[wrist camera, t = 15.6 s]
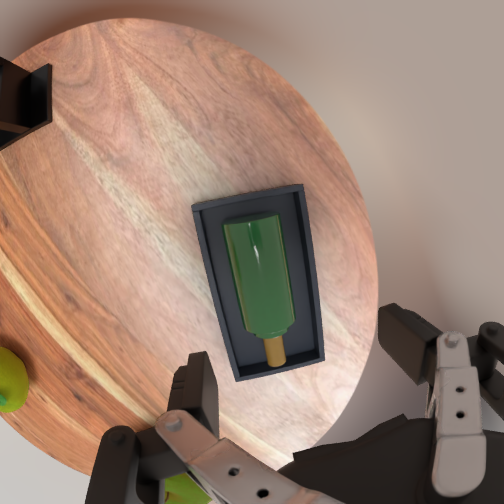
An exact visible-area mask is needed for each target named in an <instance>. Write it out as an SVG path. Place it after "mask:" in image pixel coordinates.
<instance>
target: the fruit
mask: <svg viewBox="0 0 504 504" xmlns="http://www.w3.org/2000/svg"><path fill="white" fill-rule="evenodd" d="M28 390H29V380H28V376H27V372H26V369H25V365H24V363H23V362H22V360H21V359H20V358H18V357H17V356H16V355H15V354H14V353H13V352H12V351H10V350H9V349H7V348H4V347H0V411H1V412H5V413H9V412H13V411H16V410H17V409H19V408H20V407H22V406H23V404H24V403H25V401H26V399H27V395H28Z"/></svg>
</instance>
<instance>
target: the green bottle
mask: <svg viewBox="0 0 504 504" xmlns="http://www.w3.org/2000/svg"><path fill="white" fill-rule="evenodd" d="M221 229H222V234H223V239H224V244H225V248H226V253H227V258H228V262H229V267H230V271H231V276H232V281H233V285H234V290H235V294H236V298H237V303H238V307H239V312H240V316H241V320H242V325H243V328H244V329H245V330H246V331H248V332H250V333H253V334H254V335H255V336H256V337H258V338H261V339H263V344H264V349H265V353H266V358H267V363H268V364H269V365H270V366H273V367H277V366H281V365H283V364H284V363H285V362H286V354H285V348H284V342H283V336H282V335H283V334H285V333H286V332H287V331H288V329H289V326H291V325H292V324H293V323H294V322H295V320H296V312H295V305H294V298H293V291H292V285H291V278H290V272H289V265H288V259H287V253H286V247H285V241H284V235H283V229H282V223H281V217H280V213H279V212H262V213H256V214H250V215H245V216H240V217H236V218H233V219H229V220H226V221H224V222H222V223H221Z"/></svg>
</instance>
